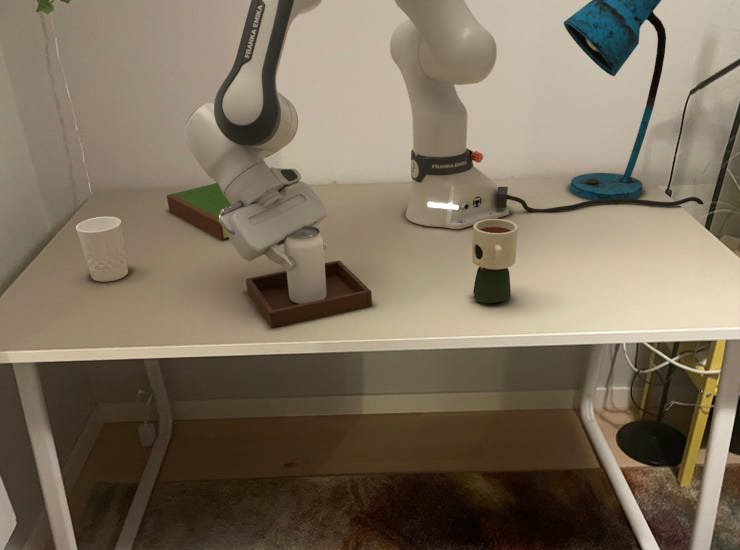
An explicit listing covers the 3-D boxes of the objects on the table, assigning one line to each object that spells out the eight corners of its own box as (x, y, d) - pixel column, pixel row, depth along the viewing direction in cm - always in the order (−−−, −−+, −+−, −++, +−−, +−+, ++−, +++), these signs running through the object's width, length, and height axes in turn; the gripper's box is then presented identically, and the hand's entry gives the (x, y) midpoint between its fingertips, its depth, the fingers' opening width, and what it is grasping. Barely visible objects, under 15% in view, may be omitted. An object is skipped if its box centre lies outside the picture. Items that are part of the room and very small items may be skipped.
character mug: (467, 285, 131) (469, 214, 125) (507, 284, 131) (512, 213, 124) (473, 314, 122) (477, 239, 115) (517, 313, 122) (523, 238, 115)
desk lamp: (540, 183, 179) (558, -28, 156) (629, 177, 180) (660, -33, 157) (560, 205, 165) (583, -23, 142) (657, 199, 166) (695, -28, 143)
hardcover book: (169, 211, 170) (166, 195, 168) (240, 192, 180) (238, 177, 178) (223, 241, 153) (221, 224, 151) (299, 219, 163) (297, 202, 161)
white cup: (92, 287, 136) (79, 235, 131) (85, 271, 142) (72, 221, 137) (135, 277, 139) (125, 226, 134) (126, 263, 145) (116, 213, 140)
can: (321, 307, 125) (316, 240, 119) (284, 305, 126) (277, 238, 120) (330, 290, 131) (326, 225, 124) (295, 288, 132) (289, 223, 126)
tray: (340, 274, 137) (339, 260, 136) (371, 306, 126) (371, 291, 124) (247, 293, 132) (245, 278, 130) (271, 328, 120) (269, 312, 119)
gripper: (222, 201, 115) (277, 272, 115) (302, 166, 129) (351, 229, 129) (204, 224, 119) (258, 292, 119) (284, 188, 134) (332, 249, 134)
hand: (307, 259), depth 125 cm, fingers open, 7 cm apart
